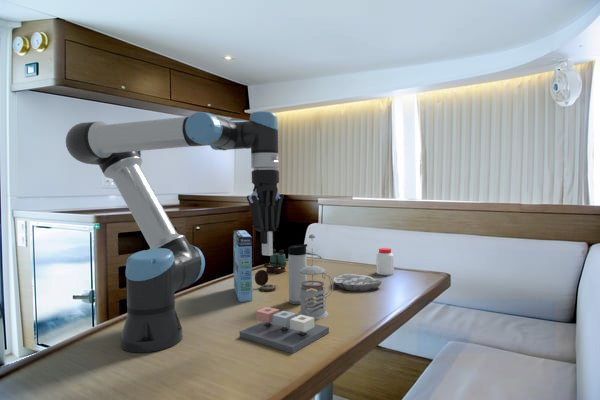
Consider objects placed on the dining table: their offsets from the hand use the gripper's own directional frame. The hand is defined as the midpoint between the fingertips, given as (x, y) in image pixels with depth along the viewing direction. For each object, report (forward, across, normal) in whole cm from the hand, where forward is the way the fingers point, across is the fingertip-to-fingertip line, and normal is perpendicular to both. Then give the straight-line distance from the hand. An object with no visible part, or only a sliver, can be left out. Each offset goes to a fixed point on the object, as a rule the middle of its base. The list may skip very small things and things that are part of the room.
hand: (267, 254), depth 108 cm
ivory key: (+20, 0, -12) cm, 23 cm away
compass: (+21, +33, +30) cm, 49 cm away
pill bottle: (+22, +83, +3) cm, 86 cm away
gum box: (+21, +22, +32) cm, 44 cm away
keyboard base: (+21, 0, -6) cm, 22 cm away
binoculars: (+21, +57, +46) cm, 76 cm away
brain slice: (+22, +55, +3) cm, 59 cm away
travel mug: (+21, +26, +9) cm, 35 cm away
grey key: (+20, 0, -6) cm, 20 cm away
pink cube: (+20, 0, 0) cm, 20 cm away
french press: (+21, +19, -3) cm, 29 cm away
